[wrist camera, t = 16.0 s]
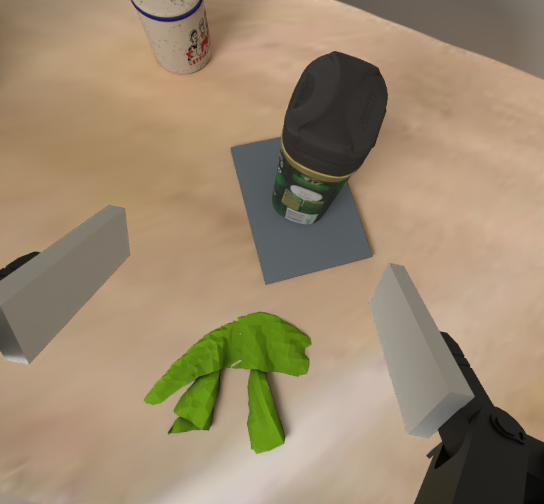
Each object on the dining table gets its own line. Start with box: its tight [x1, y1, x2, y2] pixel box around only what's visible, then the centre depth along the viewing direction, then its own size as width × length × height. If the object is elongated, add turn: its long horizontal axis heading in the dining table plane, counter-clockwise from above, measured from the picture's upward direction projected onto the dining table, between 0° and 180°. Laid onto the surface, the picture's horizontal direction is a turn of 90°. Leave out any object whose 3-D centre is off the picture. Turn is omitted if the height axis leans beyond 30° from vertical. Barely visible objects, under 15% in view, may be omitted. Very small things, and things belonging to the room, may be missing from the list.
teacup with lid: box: [131, 0, 211, 74], centre depth 37 cm, size 12×9×12 cm
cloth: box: [144, 312, 312, 454], centre depth 33 cm, size 20×22×2 cm
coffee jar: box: [272, 51, 388, 224], centre depth 30 cm, size 10×8×19 cm
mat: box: [231, 138, 373, 285], centre depth 39 cm, size 20×15×1 cm
